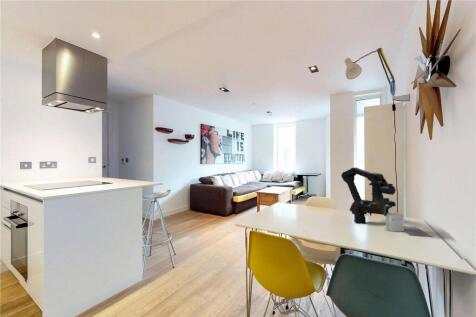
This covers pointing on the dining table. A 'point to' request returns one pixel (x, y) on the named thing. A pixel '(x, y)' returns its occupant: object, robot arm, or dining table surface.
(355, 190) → the robot arm
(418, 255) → the dining table surface
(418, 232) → the mat
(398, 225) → the small box
